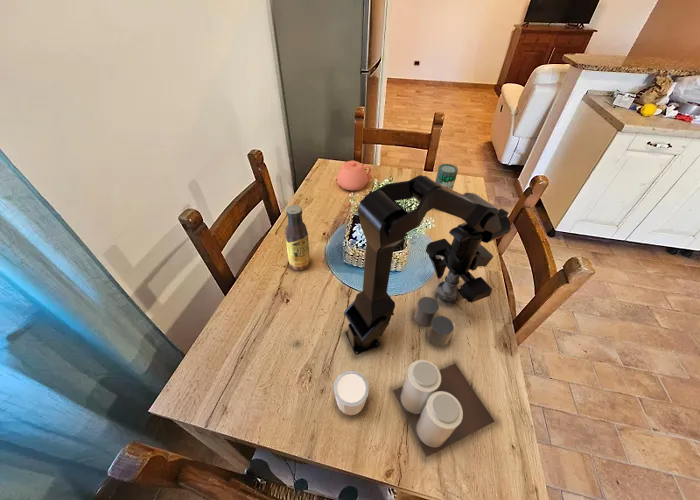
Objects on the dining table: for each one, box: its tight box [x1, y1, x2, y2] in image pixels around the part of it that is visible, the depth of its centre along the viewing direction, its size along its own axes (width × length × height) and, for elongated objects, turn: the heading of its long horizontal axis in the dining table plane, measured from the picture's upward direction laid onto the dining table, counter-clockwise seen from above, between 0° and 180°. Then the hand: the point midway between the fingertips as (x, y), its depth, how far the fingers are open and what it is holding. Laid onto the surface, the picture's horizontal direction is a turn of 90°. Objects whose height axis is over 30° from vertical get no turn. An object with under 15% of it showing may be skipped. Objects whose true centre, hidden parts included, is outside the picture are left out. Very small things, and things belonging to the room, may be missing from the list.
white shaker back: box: [401, 359, 441, 414], centre depth 60 cm, size 6×6×12 cm
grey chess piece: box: [435, 269, 461, 307], centre depth 79 cm, size 6×6×12 cm
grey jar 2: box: [426, 315, 455, 348], centre depth 73 cm, size 5×5×6 cm
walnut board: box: [392, 363, 496, 458], centre depth 63 cm, size 16×13×1 cm
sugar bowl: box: [336, 160, 373, 191], centre depth 120 cm, size 12×14×10 cm
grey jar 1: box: [413, 296, 440, 327], centre depth 77 cm, size 5×5×6 cm
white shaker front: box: [416, 391, 463, 447], centre depth 56 cm, size 6×6×12 cm
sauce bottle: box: [284, 204, 311, 271], centre depth 85 cm, size 7×6×20 cm
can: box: [434, 163, 459, 190], centre depth 109 cm, size 6×6×15 cm
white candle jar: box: [333, 370, 370, 416], centre depth 62 cm, size 7×7×7 cm
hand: (448, 289), depth 81 cm, fingers closed on grey chess piece, 8 cm apart
